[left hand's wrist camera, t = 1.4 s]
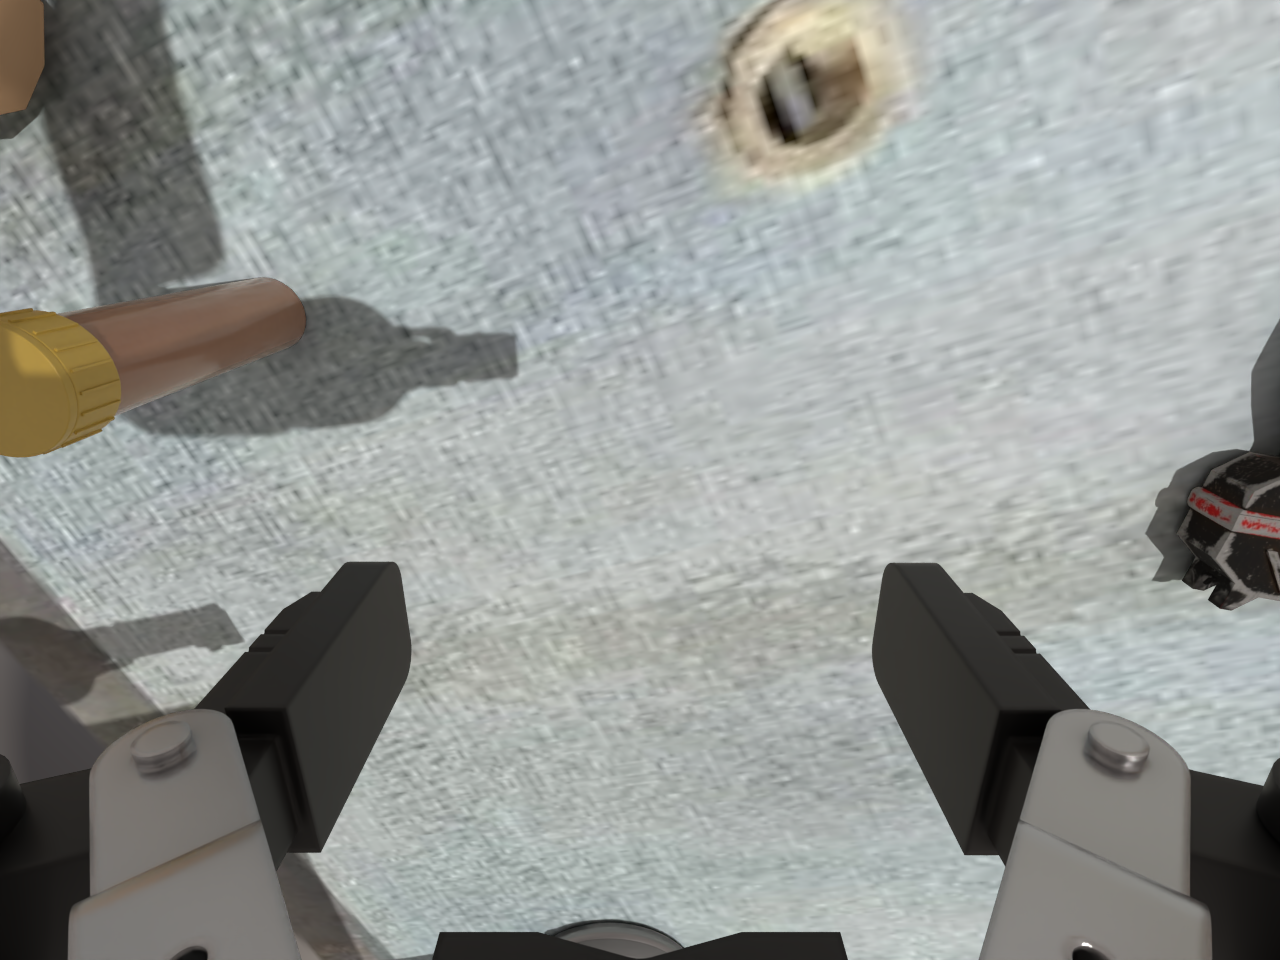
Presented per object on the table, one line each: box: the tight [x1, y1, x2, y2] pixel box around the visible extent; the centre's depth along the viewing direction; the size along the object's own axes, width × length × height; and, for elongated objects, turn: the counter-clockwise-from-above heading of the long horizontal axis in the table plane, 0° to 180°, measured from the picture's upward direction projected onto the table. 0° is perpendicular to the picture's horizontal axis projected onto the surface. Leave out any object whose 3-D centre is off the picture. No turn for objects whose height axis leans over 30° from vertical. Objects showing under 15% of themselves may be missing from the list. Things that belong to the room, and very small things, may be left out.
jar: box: [57, 277, 306, 416], centre depth 30 cm, size 4×4×17 cm
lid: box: [0, 308, 121, 457], centre depth 23 cm, size 5×5×2 cm
